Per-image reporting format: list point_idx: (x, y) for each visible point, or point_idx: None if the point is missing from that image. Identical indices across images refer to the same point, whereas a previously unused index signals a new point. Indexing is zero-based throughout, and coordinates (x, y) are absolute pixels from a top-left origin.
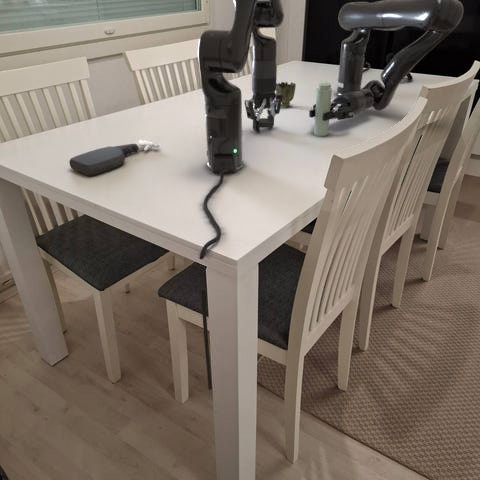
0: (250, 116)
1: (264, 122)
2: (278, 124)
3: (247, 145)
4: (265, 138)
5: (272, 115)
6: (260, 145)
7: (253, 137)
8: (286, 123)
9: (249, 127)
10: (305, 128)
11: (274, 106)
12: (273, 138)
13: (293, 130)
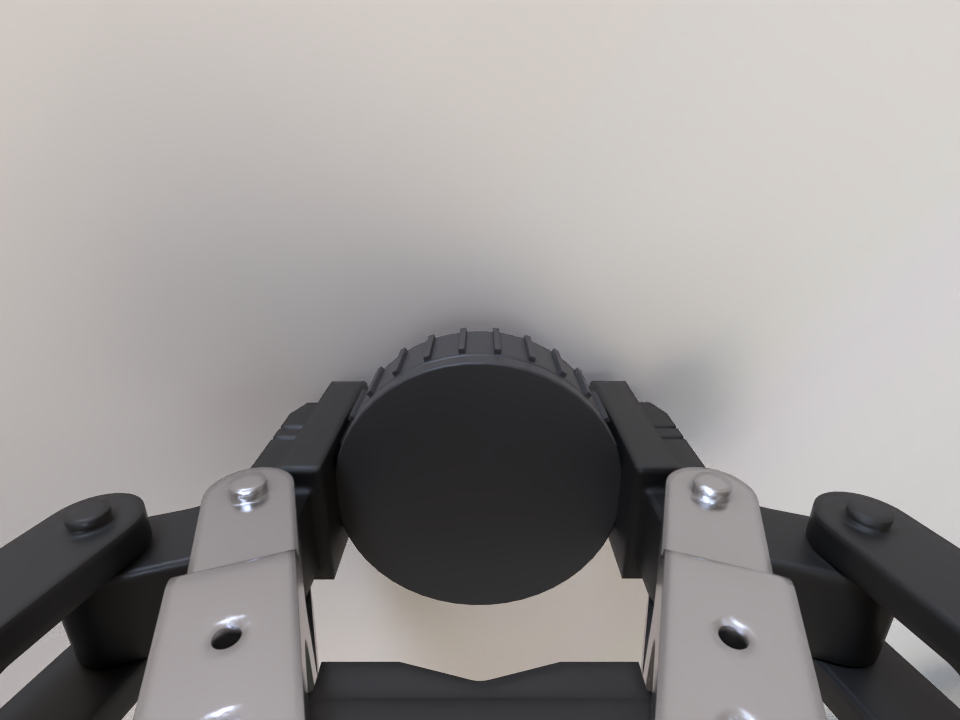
0: (65, 627)
1: (421, 576)
2: (839, 338)
3: (50, 645)
4: (325, 609)
5: (646, 616)
6: None
7: None
8: (951, 376)
9: (404, 158)
10: (900, 631)
11: (947, 635)
12: (397, 650)
13: None
